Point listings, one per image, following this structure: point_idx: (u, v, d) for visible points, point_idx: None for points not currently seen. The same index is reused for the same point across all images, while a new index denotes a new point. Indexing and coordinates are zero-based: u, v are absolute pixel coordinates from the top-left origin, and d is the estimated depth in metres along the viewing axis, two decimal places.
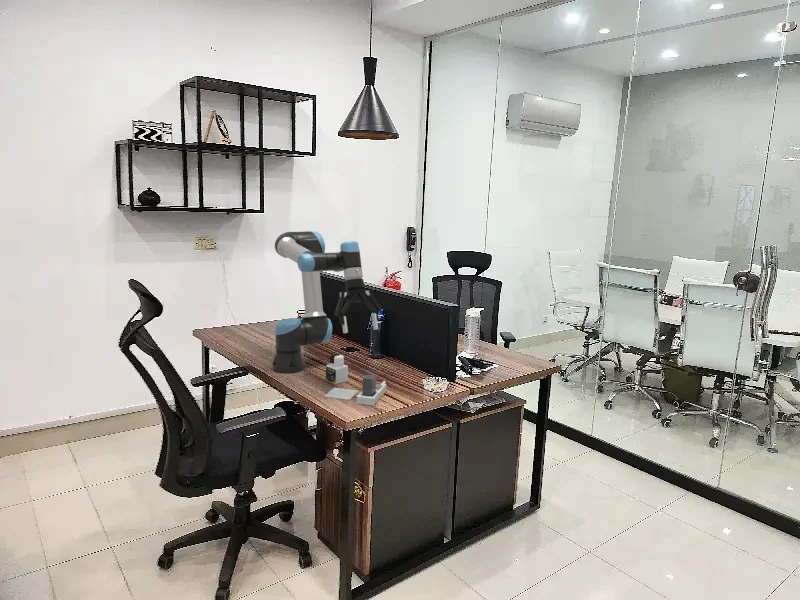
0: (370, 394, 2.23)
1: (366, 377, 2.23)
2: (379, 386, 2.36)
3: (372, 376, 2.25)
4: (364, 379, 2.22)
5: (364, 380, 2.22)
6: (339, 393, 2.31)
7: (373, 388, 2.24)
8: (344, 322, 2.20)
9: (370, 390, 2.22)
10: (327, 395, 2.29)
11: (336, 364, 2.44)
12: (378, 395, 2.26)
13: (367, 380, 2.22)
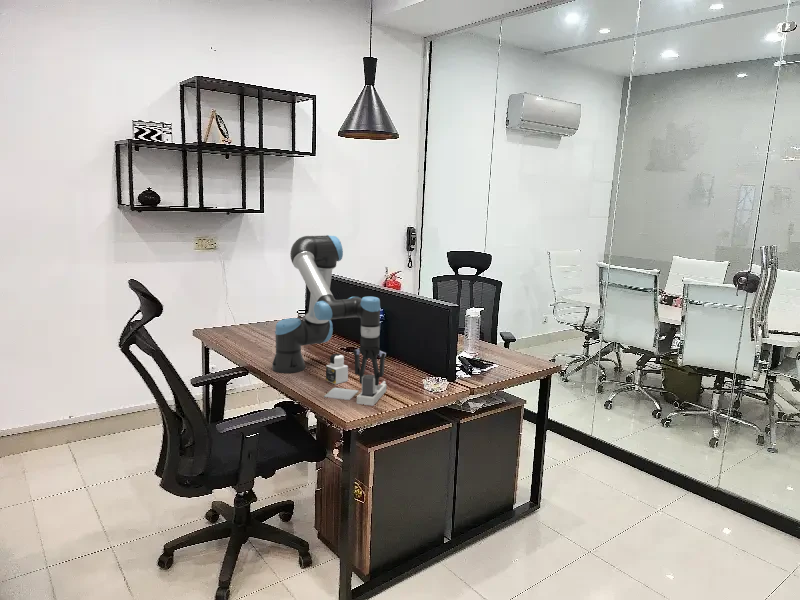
0: (370, 394, 2.23)
1: (366, 377, 2.23)
2: (379, 386, 2.36)
3: (372, 376, 2.25)
4: (364, 379, 2.22)
5: (364, 380, 2.22)
6: (339, 393, 2.31)
7: None
8: (362, 382, 2.24)
9: (370, 390, 2.22)
10: (327, 395, 2.29)
11: (336, 364, 2.44)
12: (378, 395, 2.26)
13: (367, 380, 2.22)
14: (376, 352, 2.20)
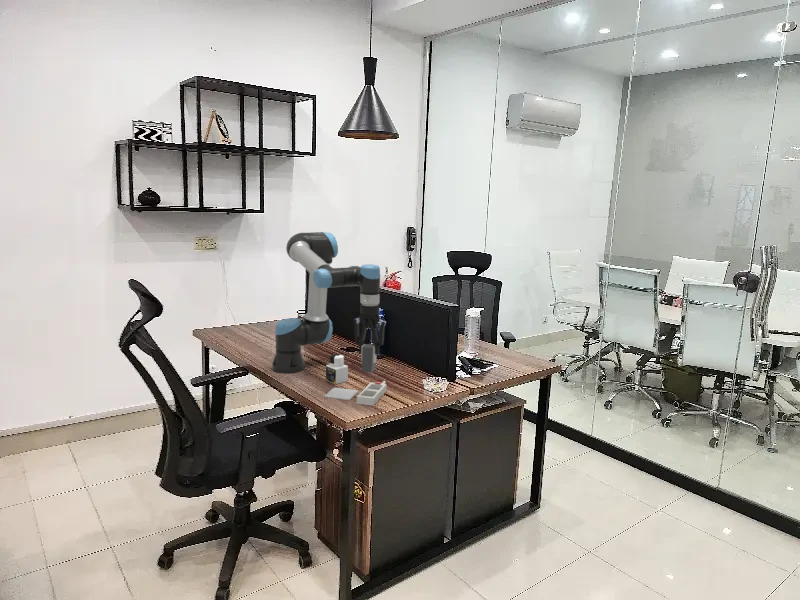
0: (370, 363, 2.20)
1: (366, 346, 2.21)
2: (379, 386, 2.36)
3: (372, 345, 2.23)
4: (364, 348, 2.20)
5: (364, 349, 2.20)
6: (339, 393, 2.31)
7: (372, 358, 2.21)
8: (361, 351, 2.22)
9: (370, 359, 2.20)
10: (327, 395, 2.29)
11: (336, 364, 2.44)
12: (378, 395, 2.26)
13: (367, 349, 2.20)
14: (376, 320, 2.18)
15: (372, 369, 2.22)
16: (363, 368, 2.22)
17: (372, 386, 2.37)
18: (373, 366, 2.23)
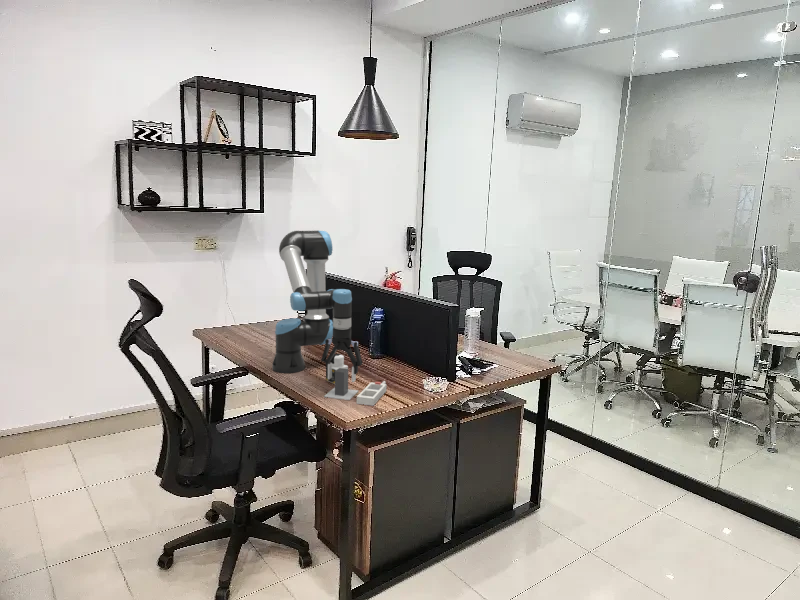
0: (342, 387, 2.29)
1: (338, 370, 2.29)
2: (379, 386, 2.36)
3: (344, 369, 2.31)
4: (336, 372, 2.28)
5: (336, 373, 2.28)
6: None
7: (345, 381, 2.30)
8: (328, 369, 2.31)
9: (342, 383, 2.28)
10: (327, 395, 2.29)
11: (336, 364, 2.44)
12: (378, 395, 2.26)
13: (340, 373, 2.28)
14: (348, 343, 2.26)
15: (344, 392, 2.30)
16: (336, 392, 2.30)
17: (372, 386, 2.37)
18: (346, 389, 2.31)
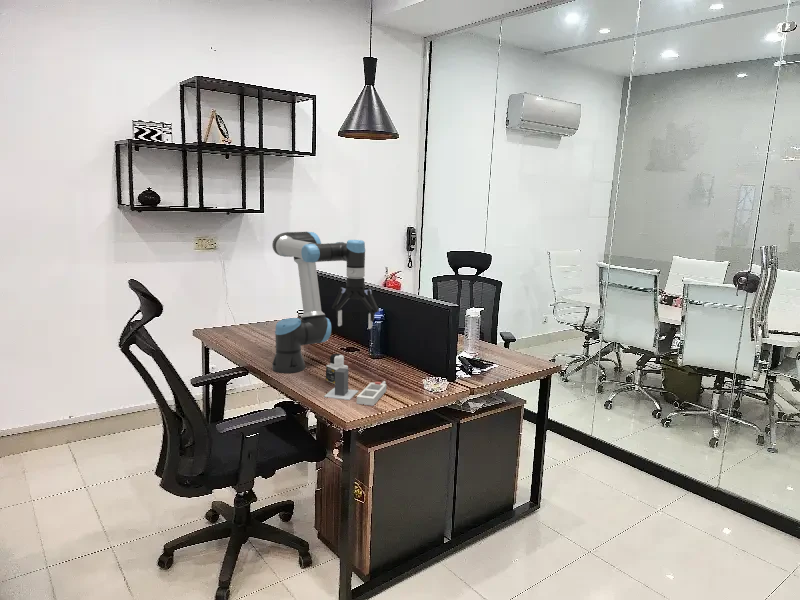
0: (342, 387, 2.29)
1: (338, 370, 2.29)
2: (379, 386, 2.36)
3: (344, 369, 2.31)
4: (336, 372, 2.28)
5: (336, 373, 2.28)
6: None
7: (345, 381, 2.30)
8: (338, 316, 2.36)
9: (342, 383, 2.28)
10: (327, 395, 2.29)
11: (336, 364, 2.44)
12: (378, 395, 2.26)
13: (340, 373, 2.28)
14: (361, 292, 2.31)
15: (344, 392, 2.30)
16: (336, 392, 2.30)
17: (372, 386, 2.37)
18: (346, 389, 2.31)
